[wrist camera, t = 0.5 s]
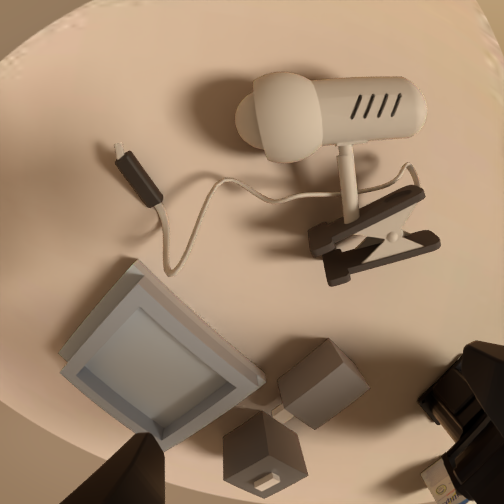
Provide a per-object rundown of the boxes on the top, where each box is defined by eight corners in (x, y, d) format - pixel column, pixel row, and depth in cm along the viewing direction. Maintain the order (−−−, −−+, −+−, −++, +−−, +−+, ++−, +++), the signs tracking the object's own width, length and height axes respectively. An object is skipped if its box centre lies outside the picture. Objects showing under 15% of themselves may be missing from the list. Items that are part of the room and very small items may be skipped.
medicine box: (459, 465, 29) (484, 502, 21) (435, 484, 30) (458, 522, 21) (446, 452, 27) (476, 495, 19) (418, 474, 28) (445, 518, 19)
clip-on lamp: (173, 272, 23) (421, 244, 20) (136, 316, 17) (460, 284, 14) (138, 114, 19) (405, 72, 16) (83, 111, 13) (446, 50, 10)
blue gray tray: (264, 372, 22) (269, 395, 19) (177, 435, 23) (174, 457, 20) (138, 259, 19) (125, 270, 17) (64, 345, 20) (49, 363, 18)
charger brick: (297, 433, 24) (309, 481, 18) (258, 457, 24) (265, 504, 19) (262, 410, 23) (270, 461, 17) (223, 436, 23) (223, 486, 18)
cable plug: (353, 362, 22) (370, 388, 19) (288, 413, 23) (295, 443, 20) (328, 337, 22) (343, 362, 18) (259, 392, 22) (263, 422, 19)
